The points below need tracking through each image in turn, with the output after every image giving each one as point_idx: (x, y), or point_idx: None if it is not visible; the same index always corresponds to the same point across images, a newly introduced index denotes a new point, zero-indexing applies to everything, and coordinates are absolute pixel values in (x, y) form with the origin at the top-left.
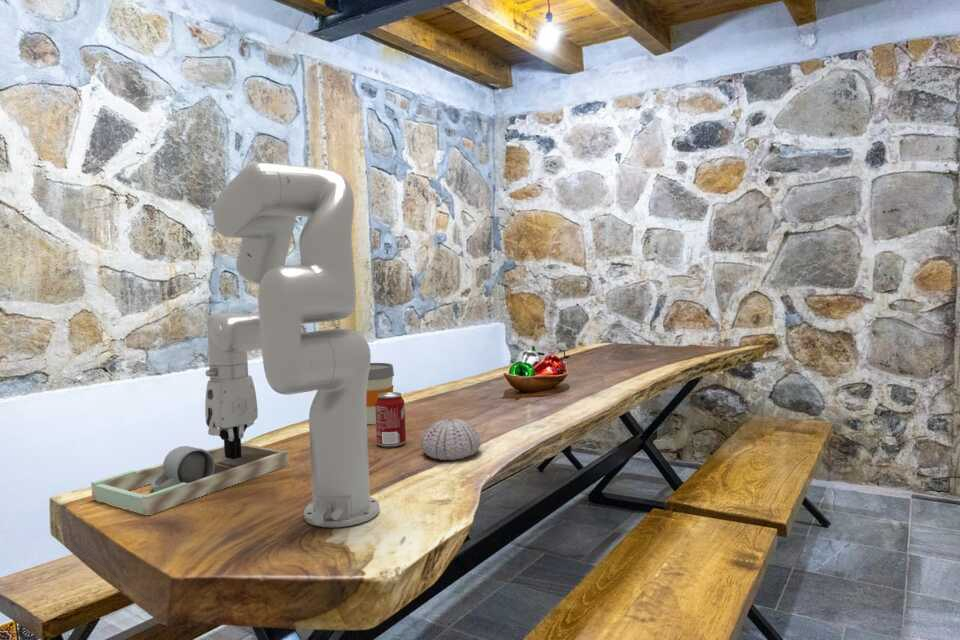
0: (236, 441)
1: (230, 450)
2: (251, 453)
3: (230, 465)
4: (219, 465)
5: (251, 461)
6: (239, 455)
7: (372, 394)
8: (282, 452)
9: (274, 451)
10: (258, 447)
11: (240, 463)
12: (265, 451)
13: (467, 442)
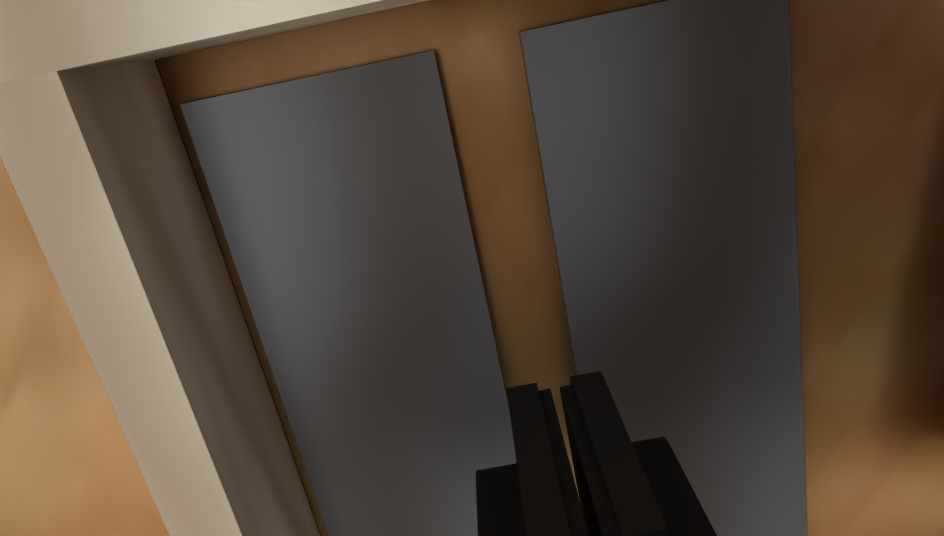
0: (609, 529)
1: (663, 469)
2: (281, 527)
3: None
4: None
5: (334, 422)
6: (535, 394)
7: None
8: (23, 22)
9: (103, 186)
10: (198, 512)
11: (442, 447)
12: (182, 348)
13: None
